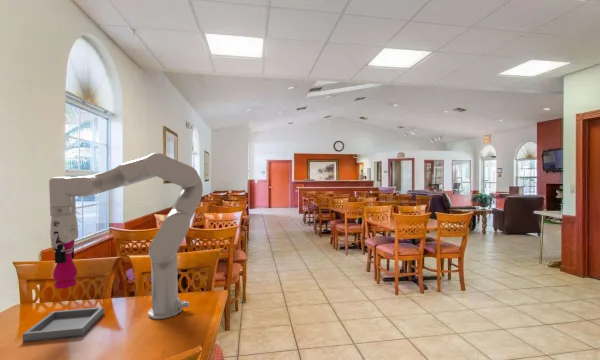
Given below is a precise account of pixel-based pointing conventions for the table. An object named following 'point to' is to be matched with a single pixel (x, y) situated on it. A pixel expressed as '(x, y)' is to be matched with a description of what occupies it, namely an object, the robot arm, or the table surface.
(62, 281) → the pepper mill
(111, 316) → the table surface
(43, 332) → the serving tray
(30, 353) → the table surface
